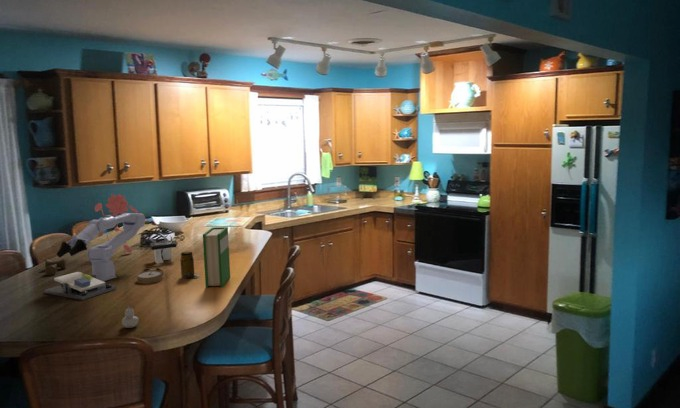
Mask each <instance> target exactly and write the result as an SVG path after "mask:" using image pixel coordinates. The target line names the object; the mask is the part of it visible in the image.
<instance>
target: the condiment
mask: <svg viewBox="0 0 680 408" xmlns="http://www.w3.org/2000/svg"><path fill="white" fill-rule="evenodd" d="M194 259H195V258H194V256H193V252H192V251H181V253H180V275H181V276H180V277H178V279H179V280H180V279H181V280H185V279H197V278H199V277H200V276H201V274H196V273H195V261H194Z"/></svg>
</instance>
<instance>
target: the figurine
mask: <svg viewBox="0 0 680 408" xmlns="http://www.w3.org/2000/svg"><path fill="white" fill-rule="evenodd" d="M107 202H108V203H106V204H105V207H106V208H107V209H108V212H109V213H112V214H110V215H111V216H113V217H116V216H119V215H118V214H120V215H122V214H123V213H128V211H129V209H130V210H131V211H133V213H138V214H139V213H140V212H139V211H138V210H137V209H136V208H135V207H133V206H132V205H129V201H127V200H126V196H124V195H121V193H118V194H116V195H114V194H113V193H111V195H110V197H108V199H107ZM128 205H129V206H128ZM94 210H95V213H96V212H99V211H101V213H102V217H106V216H107V215H108V214H104V210H103V204H102V202H99V203H97V204H95V206H94ZM118 226H119V223H117V224H116V226H115V227H114V229H113V230H112V231H110V232H109V233H107V234H106V238H107V241H109V240H110V239H109V236H108V235H110V234H111V233H113V232H119V231H120V233H121V232H122V231H123V230H121V229H120V228H119V227H118ZM122 247H123V250H124V251H123V256H125V255H126V251H127V252H128V253H132V252H133V251H132V250H133V249H132V248H131V247H130V245H128V244H127V242H125V243H124V244H123V245H122ZM125 250H126V251H125ZM135 255H136V254H134V256H135Z"/></svg>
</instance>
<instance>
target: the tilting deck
mask: <svg viewBox="0 0 680 408" xmlns="http://www.w3.org/2000/svg"><path fill="white" fill-rule="evenodd" d="M53 281H55V282H58V283H60V284H61V283H62V284H63V283H68V286H69V287H71V288H74V289H76V290H78V291H80V292H82V291H85V290H89V289H92V288H95V287H99V286H102V285H105V284H106V281H101V280H98V279H96V278H93V277H92V276H91V275H89V274H88V273H87V274H86V273H83V272H81V271H75V272H72V273H67V274H65V275H60V276H56V277H54V278H53Z"/></svg>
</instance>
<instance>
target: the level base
mask: <svg viewBox="0 0 680 408" xmlns="http://www.w3.org/2000/svg"><path fill="white" fill-rule="evenodd" d="M90 276H92V277H93V278H96V275H93V274H91V275H90ZM116 290H117V286H116V285H112V283H105V285H102V286H99V287H95V288H92V289H89V290H85V291H82V292H80V291H78V290H76V289H74V288H71V287H69V286H68V283H63V284H62V283H60V284H59V285H56V286H53V287H49V288H46V289H44V293H45V294H49V295H52V296H53V295H54V296H58V297H59V296H60V297H64V298H68V299H69V298H70V299H74V300H80V301H83V300H87V299H91V298H93V297H97V296H100V295H102V294H106V293H108V292H112V291H116Z"/></svg>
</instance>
